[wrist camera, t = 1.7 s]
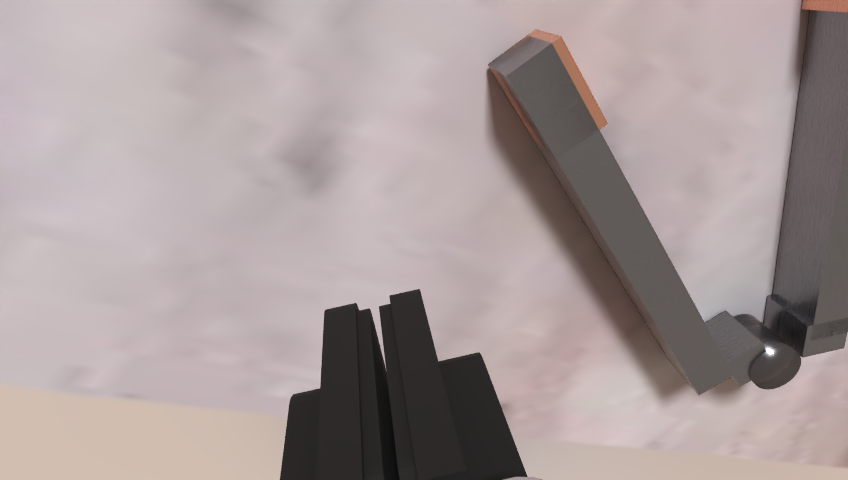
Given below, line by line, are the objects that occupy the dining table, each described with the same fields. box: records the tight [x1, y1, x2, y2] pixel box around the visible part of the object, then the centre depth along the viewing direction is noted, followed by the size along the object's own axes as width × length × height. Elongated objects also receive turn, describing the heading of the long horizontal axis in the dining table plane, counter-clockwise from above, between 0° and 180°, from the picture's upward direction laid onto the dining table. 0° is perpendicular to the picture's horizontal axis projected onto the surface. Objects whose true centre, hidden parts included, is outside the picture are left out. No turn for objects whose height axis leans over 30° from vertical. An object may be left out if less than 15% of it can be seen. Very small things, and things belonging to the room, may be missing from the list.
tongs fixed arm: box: [764, 0, 848, 357], centre depth 26 cm, size 2×21×3 cm, turn 10°
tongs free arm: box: [488, 30, 801, 395], centre depth 26 cm, size 5×22×3 cm, turn 35°
